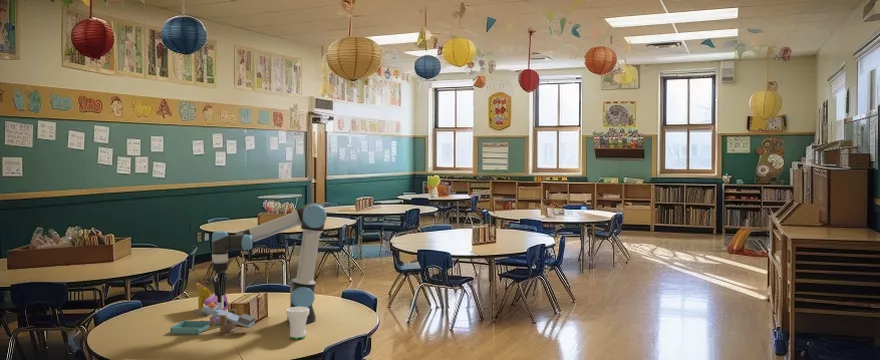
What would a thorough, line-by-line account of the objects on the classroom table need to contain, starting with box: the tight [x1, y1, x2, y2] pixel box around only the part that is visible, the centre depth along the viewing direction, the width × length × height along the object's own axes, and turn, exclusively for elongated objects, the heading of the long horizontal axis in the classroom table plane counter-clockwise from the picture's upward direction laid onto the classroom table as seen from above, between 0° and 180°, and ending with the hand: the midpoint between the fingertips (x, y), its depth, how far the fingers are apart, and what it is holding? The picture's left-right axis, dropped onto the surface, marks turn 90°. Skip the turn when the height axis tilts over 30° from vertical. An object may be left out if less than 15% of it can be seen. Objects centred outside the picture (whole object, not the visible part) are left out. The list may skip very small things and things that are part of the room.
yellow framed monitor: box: [193, 282, 212, 316], centre depth 385 cm, size 20×8×16 cm, turn 34°
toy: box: [204, 292, 230, 324], centre depth 365 cm, size 11×8×15 cm
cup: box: [285, 307, 309, 340], centre depth 336 cm, size 11×11×14 cm
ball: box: [208, 302, 215, 309], centre depth 346 cm, size 4×4×4 cm
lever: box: [201, 305, 256, 329], centre depth 346 cm, size 26×10×4 cm, turn 85°
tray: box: [169, 320, 211, 336], centre depth 348 cm, size 14×14×3 cm
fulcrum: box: [215, 308, 241, 337], centre depth 346 cm, size 7×14×10 cm, turn 175°
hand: (220, 308), depth 346 cm, fingers closed
